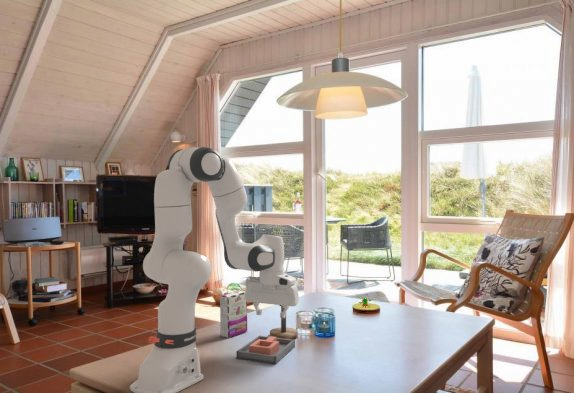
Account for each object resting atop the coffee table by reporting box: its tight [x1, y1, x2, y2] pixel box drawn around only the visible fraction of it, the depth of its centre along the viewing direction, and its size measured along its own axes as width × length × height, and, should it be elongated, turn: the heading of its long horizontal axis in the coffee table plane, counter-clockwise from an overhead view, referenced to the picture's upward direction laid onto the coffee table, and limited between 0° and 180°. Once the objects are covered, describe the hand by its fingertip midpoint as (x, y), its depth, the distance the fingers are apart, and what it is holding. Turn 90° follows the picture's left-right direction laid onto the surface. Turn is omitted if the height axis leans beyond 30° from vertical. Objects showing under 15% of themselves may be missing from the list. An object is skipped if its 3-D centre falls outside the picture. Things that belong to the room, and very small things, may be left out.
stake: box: [269, 305, 298, 340], centre depth 181 cm, size 11×11×13 cm
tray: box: [235, 335, 296, 365], centre depth 163 cm, size 19×15×2 cm
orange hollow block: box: [249, 335, 279, 355], centre depth 163 cm, size 12×8×3 cm, turn 159°
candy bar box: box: [219, 290, 248, 339], centre depth 184 cm, size 11×5×16 cm, turn 143°
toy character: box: [358, 297, 372, 308], centre depth 221 cm, size 11×12×7 cm
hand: (270, 316), depth 167 cm, fingers open, 8 cm apart
